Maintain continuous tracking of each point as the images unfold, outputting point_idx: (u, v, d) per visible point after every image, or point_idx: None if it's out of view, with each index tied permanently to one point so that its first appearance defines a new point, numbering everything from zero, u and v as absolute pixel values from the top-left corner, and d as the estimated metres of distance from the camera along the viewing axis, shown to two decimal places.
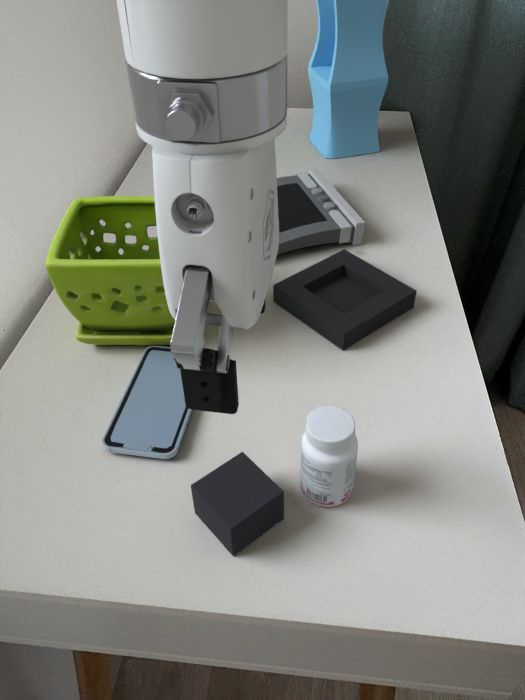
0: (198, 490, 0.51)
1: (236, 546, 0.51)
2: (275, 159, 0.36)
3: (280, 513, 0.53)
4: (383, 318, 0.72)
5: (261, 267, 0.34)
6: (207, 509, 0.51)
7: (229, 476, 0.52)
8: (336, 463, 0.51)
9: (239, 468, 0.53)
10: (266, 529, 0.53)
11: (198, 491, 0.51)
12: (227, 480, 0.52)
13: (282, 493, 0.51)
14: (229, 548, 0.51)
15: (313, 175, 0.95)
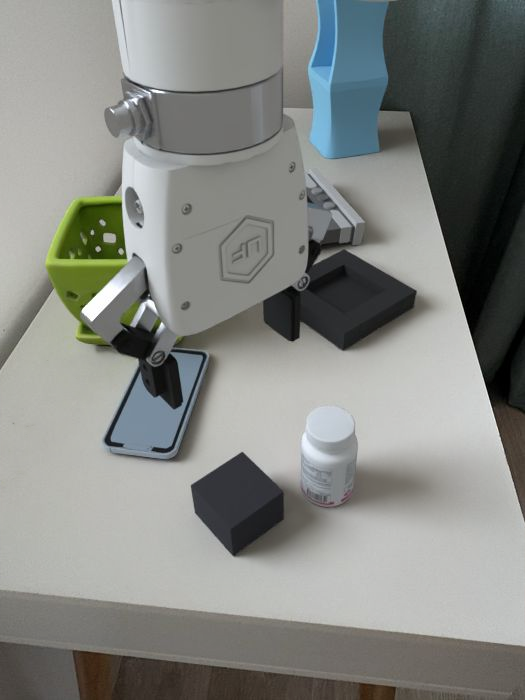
0: (198, 490, 0.51)
1: (236, 546, 0.51)
2: (296, 191, 0.34)
3: (280, 513, 0.53)
4: (383, 318, 0.72)
5: (212, 285, 0.33)
6: (207, 509, 0.51)
7: (229, 476, 0.52)
8: (336, 463, 0.51)
9: (239, 468, 0.53)
10: (266, 529, 0.53)
11: (198, 491, 0.51)
12: (227, 480, 0.52)
13: (282, 493, 0.51)
14: (229, 548, 0.51)
15: (313, 175, 0.95)
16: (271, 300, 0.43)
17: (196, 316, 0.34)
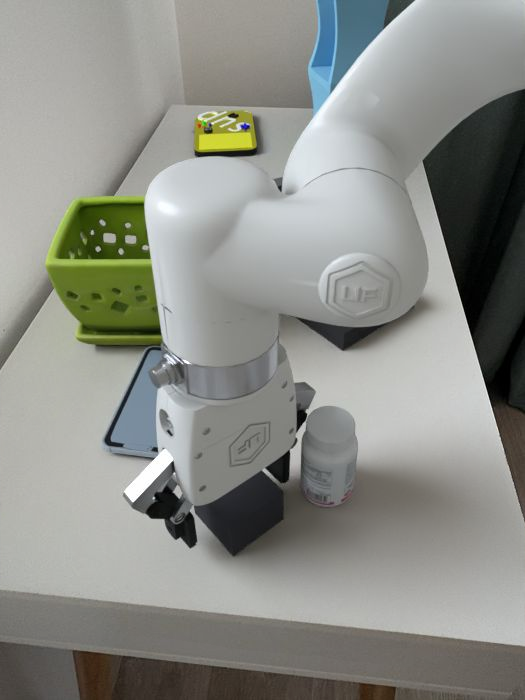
0: None
1: (236, 546, 0.51)
2: (287, 397, 0.45)
3: (280, 513, 0.53)
4: None
5: (223, 471, 0.44)
6: (207, 509, 0.51)
7: None
8: (336, 463, 0.51)
9: None
10: (266, 529, 0.53)
11: None
12: None
13: (282, 493, 0.51)
14: (229, 548, 0.51)
15: None
16: None
17: (210, 493, 0.45)
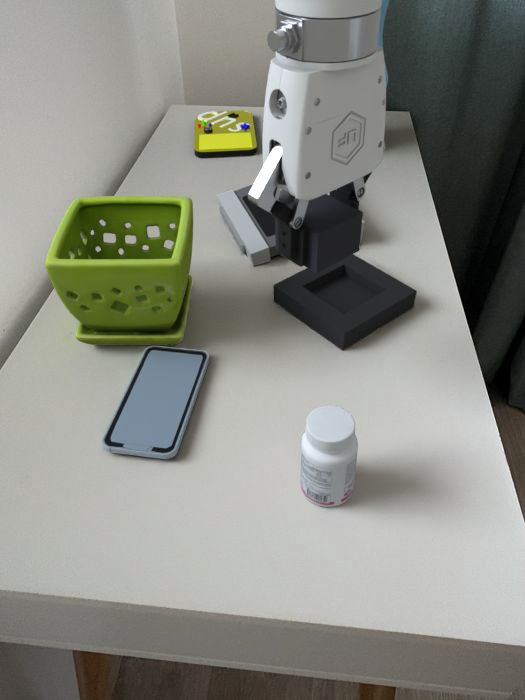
0: None
1: (320, 260, 0.54)
2: (380, 98, 0.49)
3: (357, 240, 0.57)
4: (383, 318, 0.72)
5: (325, 162, 0.48)
6: None
7: (310, 205, 0.56)
8: (336, 463, 0.51)
9: (319, 200, 0.57)
10: (345, 254, 0.56)
11: None
12: (309, 207, 0.56)
13: (361, 214, 0.55)
14: (313, 264, 0.55)
15: None
16: None
17: (313, 185, 0.49)
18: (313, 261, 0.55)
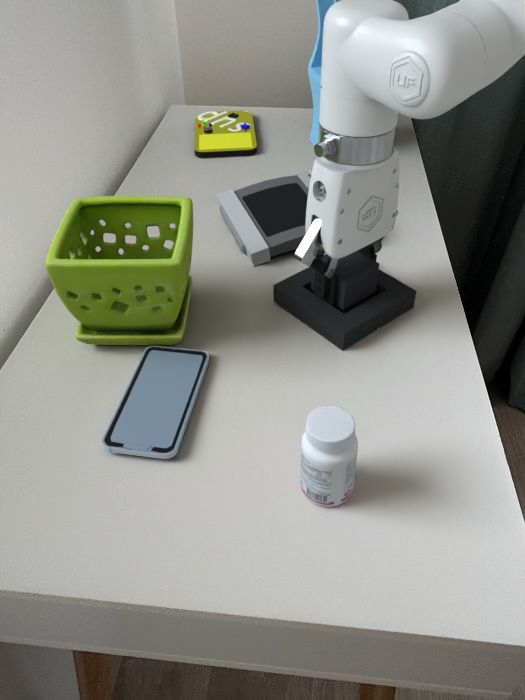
0: None
1: (346, 300, 0.71)
2: (394, 183, 0.66)
3: (375, 284, 0.73)
4: (383, 318, 0.72)
5: (353, 231, 0.65)
6: None
7: None
8: (336, 463, 0.51)
9: None
10: (365, 295, 0.73)
11: None
12: None
13: (378, 265, 0.72)
14: (340, 303, 0.72)
15: None
16: None
17: (343, 248, 0.66)
18: (341, 301, 0.71)
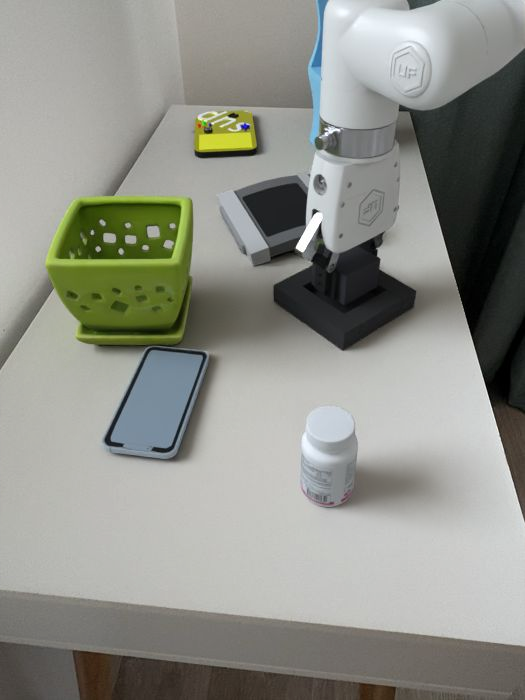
0: None
1: (347, 295, 0.71)
2: (395, 177, 0.65)
3: (376, 279, 0.73)
4: (383, 318, 0.72)
5: (353, 225, 0.65)
6: None
7: None
8: (336, 463, 0.51)
9: None
10: (366, 290, 0.73)
11: None
12: None
13: (379, 260, 0.71)
14: (341, 298, 0.71)
15: None
16: None
17: (344, 242, 0.65)
18: (342, 296, 0.71)
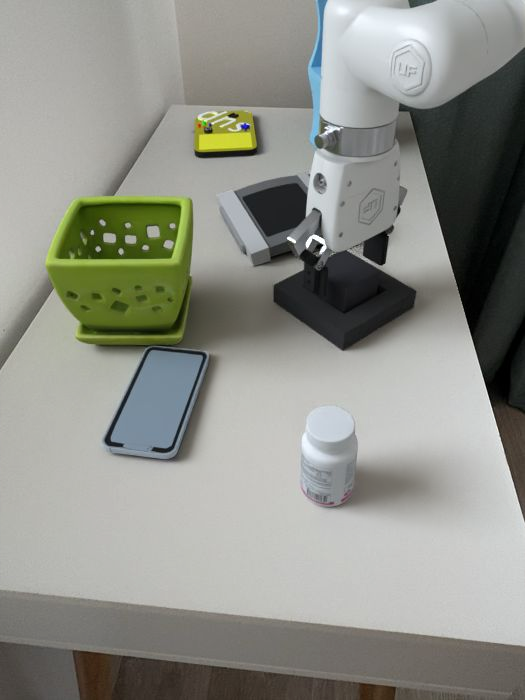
0: None
1: (346, 308, 0.72)
2: (395, 175, 0.65)
3: (375, 292, 0.74)
4: (383, 318, 0.72)
5: (353, 224, 0.65)
6: None
7: (339, 264, 0.74)
8: (336, 463, 0.51)
9: (345, 260, 0.74)
10: None
11: None
12: (338, 266, 0.73)
13: (378, 273, 0.72)
14: (341, 310, 0.72)
15: None
16: (370, 241, 0.74)
17: (344, 241, 0.65)
18: (341, 308, 0.72)
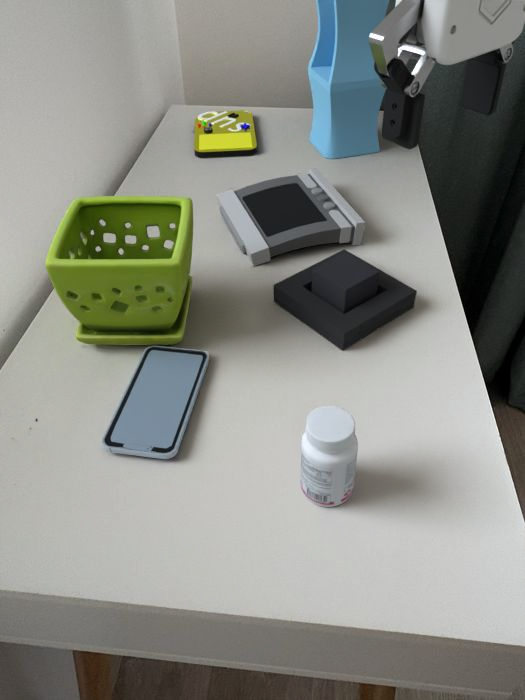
0: (318, 271, 0.73)
1: (346, 308, 0.72)
2: None
3: (375, 292, 0.74)
4: (383, 318, 0.72)
5: (472, 16, 0.42)
6: (325, 284, 0.72)
7: (339, 264, 0.74)
8: (336, 463, 0.51)
9: (345, 260, 0.74)
10: None
11: (318, 272, 0.73)
12: (338, 266, 0.73)
13: (378, 273, 0.72)
14: (341, 310, 0.72)
15: (313, 175, 0.95)
16: (474, 77, 0.51)
17: (456, 43, 0.42)
18: (341, 308, 0.72)
